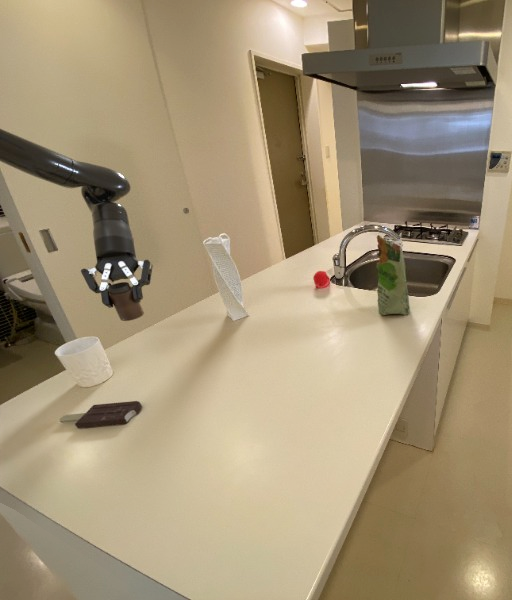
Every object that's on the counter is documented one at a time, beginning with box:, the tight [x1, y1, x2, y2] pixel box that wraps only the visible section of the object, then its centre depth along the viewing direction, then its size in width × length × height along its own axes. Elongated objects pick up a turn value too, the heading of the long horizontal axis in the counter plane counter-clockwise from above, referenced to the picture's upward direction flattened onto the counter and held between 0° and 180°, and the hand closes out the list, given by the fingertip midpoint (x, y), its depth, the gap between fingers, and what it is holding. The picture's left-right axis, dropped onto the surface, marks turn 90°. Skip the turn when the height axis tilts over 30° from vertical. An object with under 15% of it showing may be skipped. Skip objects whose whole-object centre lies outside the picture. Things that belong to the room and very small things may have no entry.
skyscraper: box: [202, 232, 250, 322], centre depth 101 cm, size 8×8×28 cm
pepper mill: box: [108, 281, 145, 322], centre depth 80 cm, size 5×5×8 cm
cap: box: [312, 270, 331, 290], centre depth 126 cm, size 8×6×6 cm
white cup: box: [54, 335, 114, 388], centre depth 79 cm, size 8×8×10 cm
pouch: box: [376, 234, 411, 316], centre depth 103 cm, size 11×12×25 cm
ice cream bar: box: [58, 400, 143, 430], centre depth 69 cm, size 5×2×15 cm
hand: (123, 303), depth 78 cm, fingers closed on pepper mill, 5 cm apart
